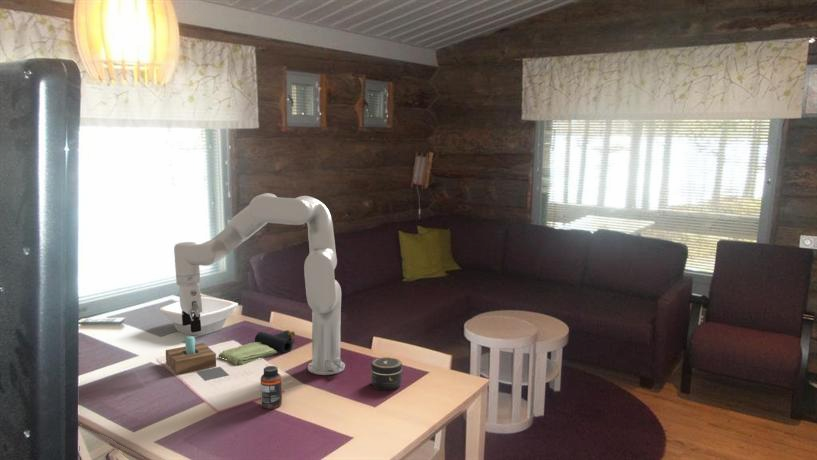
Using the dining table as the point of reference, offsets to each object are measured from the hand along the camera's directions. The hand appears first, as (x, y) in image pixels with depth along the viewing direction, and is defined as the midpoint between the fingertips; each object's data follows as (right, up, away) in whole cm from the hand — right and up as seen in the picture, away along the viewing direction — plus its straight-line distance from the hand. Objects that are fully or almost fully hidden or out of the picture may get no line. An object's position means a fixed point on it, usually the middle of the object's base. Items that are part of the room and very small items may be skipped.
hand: (191, 328), depth 197 cm
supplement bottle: (+34, -18, -27) cm, 47 cm away
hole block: (-1, -13, +2) cm, 13 cm away
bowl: (-12, -8, +41) cm, 44 cm away
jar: (+67, -17, -12) cm, 70 cm away
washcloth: (+16, -13, +12) cm, 24 cm away
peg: (-1, -13, +2) cm, 13 cm away
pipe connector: (+25, -11, +23) cm, 36 cm away
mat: (+9, -14, -6) cm, 18 cm away
